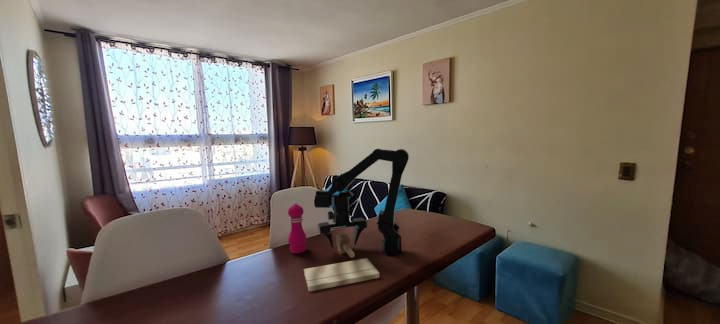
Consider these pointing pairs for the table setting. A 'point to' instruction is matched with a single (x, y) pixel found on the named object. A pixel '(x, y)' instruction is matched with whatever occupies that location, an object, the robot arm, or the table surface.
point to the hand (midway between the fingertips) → (343, 246)
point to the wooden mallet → (344, 245)
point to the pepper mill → (296, 229)
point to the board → (339, 274)
